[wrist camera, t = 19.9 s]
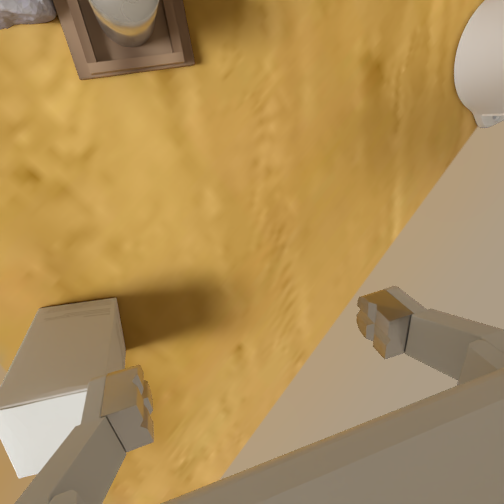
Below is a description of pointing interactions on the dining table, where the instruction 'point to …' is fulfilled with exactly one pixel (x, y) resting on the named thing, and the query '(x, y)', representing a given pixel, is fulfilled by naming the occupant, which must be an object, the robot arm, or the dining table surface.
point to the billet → (126, 20)
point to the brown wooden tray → (119, 57)
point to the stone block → (26, 12)
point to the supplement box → (56, 378)
